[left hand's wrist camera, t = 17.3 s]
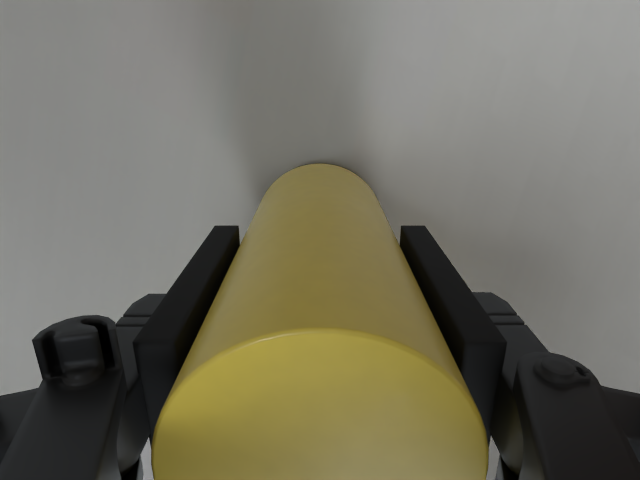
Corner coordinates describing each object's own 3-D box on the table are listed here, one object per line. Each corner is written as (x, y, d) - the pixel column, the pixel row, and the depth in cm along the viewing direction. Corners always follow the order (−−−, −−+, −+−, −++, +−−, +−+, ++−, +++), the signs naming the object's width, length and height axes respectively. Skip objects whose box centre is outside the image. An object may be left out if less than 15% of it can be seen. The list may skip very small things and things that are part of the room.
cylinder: (407, 209, 18) (564, 442, 6) (334, 302, 19) (356, 623, 8) (302, 136, 17) (266, 259, 5) (233, 240, 18) (92, 507, 7)
